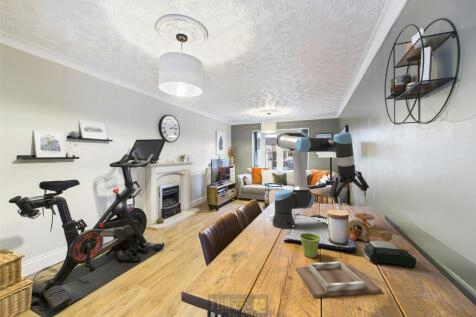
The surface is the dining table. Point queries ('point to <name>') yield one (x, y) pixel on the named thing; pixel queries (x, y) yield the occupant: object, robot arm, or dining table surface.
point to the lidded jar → (368, 217)
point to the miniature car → (388, 254)
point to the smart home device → (319, 216)
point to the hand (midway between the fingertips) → (351, 205)
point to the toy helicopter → (365, 230)
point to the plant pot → (310, 244)
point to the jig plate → (335, 280)
